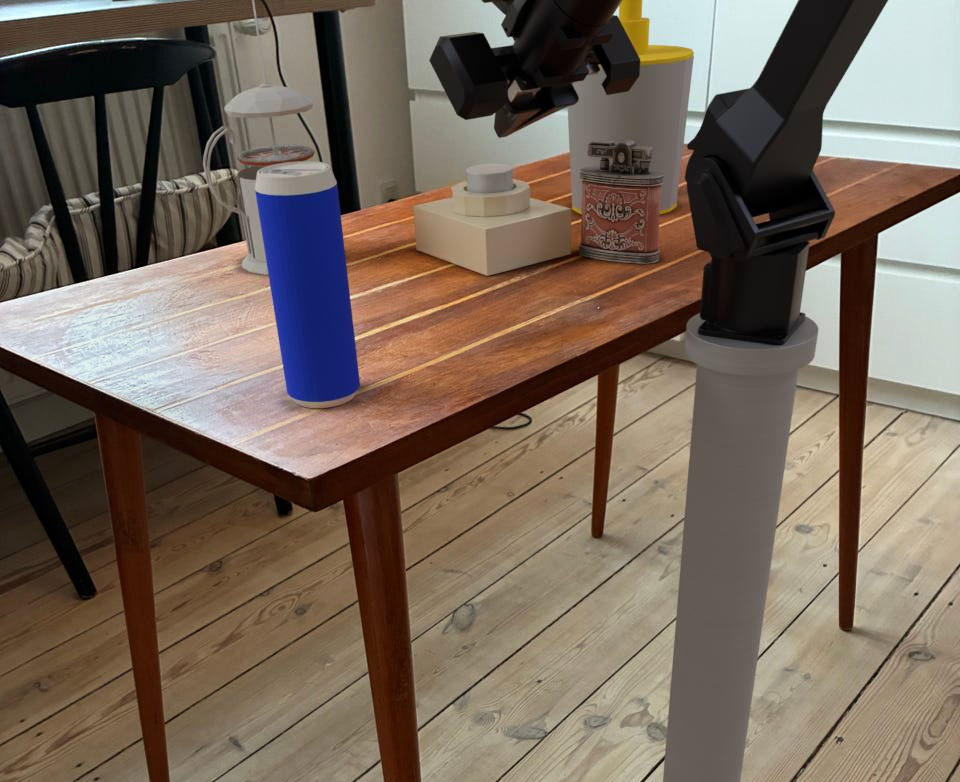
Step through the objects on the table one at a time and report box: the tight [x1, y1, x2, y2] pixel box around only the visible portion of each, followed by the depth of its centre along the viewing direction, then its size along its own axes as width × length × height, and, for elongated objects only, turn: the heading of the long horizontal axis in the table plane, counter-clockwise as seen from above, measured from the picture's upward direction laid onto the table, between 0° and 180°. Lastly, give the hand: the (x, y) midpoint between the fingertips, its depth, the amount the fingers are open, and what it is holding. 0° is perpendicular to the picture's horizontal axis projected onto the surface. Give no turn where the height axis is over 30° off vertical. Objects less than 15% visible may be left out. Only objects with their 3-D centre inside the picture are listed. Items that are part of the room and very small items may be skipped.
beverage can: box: [255, 160, 361, 409], centre depth 69 cm, size 5×5×15 cm
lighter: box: [578, 140, 664, 265], centre depth 95 cm, size 8×3×10 cm, turn 58°
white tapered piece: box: [567, 0, 695, 215], centre depth 108 cm, size 13×13×21 cm
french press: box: [202, 0, 315, 276], centre depth 94 cm, size 10×12×25 cm
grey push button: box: [465, 163, 514, 194], centre depth 97 cm, size 4×4×2 cm
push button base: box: [412, 178, 572, 277], centre depth 100 cm, size 12×10×6 cm
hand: (499, 132), depth 94 cm, fingers closed
